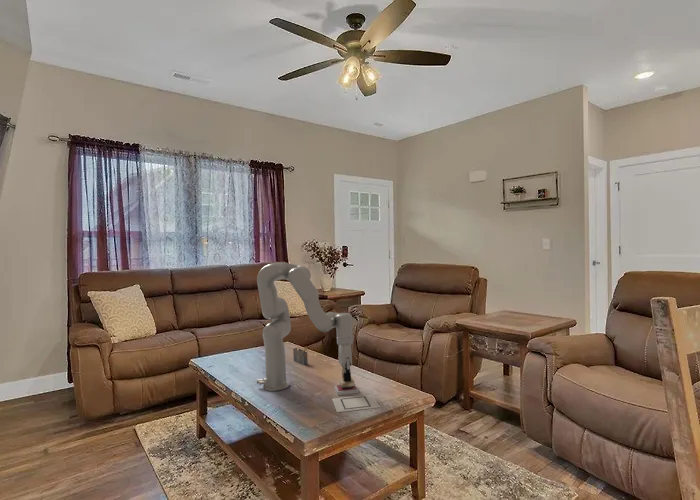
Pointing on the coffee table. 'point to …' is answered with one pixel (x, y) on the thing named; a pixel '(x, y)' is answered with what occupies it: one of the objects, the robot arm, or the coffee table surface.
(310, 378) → the coffee table surface
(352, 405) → the marked card
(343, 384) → the stamp
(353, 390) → the ink pad
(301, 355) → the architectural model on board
